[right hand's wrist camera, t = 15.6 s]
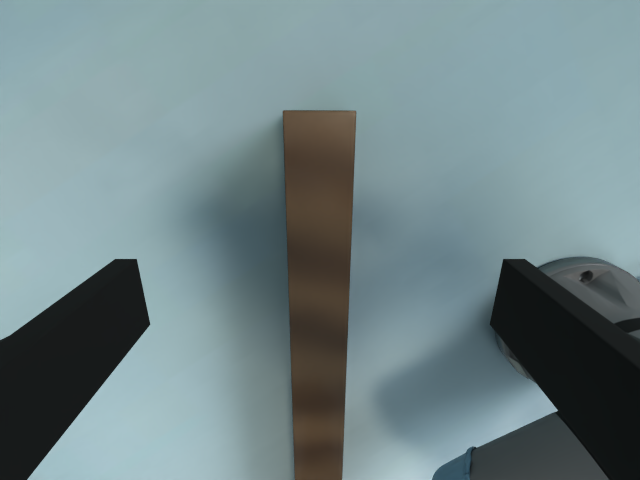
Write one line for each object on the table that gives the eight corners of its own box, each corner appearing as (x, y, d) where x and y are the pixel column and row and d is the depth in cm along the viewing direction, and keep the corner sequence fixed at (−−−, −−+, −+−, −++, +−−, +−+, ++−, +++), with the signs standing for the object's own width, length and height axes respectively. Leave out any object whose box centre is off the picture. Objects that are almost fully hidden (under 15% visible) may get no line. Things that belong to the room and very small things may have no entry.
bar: (292, 110, 31) (282, 110, 23) (347, 110, 31) (356, 110, 23) (303, 603, 60) (301, 678, 52) (332, 603, 60) (334, 678, 52)
